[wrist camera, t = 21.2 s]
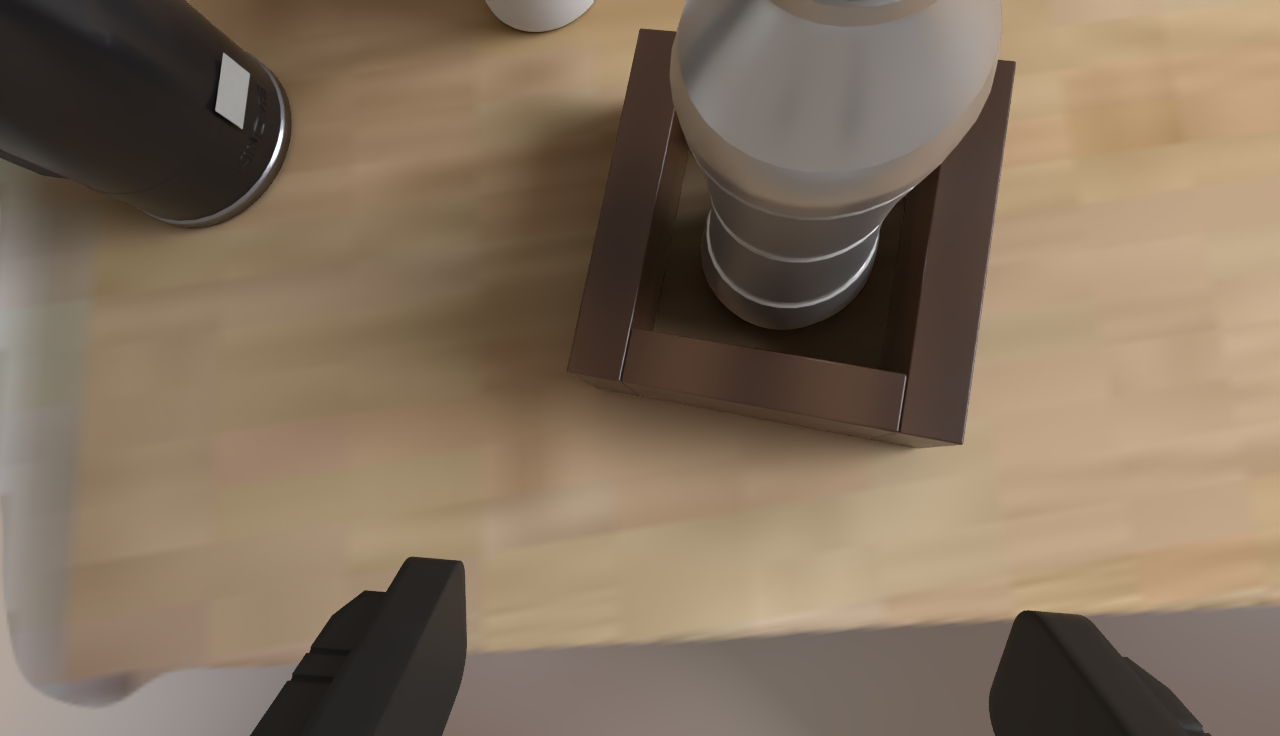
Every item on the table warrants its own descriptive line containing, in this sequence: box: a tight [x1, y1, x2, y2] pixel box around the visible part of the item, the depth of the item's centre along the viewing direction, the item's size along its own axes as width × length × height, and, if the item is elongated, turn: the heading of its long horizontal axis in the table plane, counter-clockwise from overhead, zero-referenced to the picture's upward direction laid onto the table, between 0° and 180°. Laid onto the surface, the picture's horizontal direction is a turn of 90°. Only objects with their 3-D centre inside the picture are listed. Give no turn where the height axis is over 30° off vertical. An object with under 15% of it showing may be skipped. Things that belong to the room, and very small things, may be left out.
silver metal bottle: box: [670, 0, 1002, 330], centre depth 18 cm, size 6×7×20 cm
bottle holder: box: [567, 29, 1016, 448], centre depth 25 cm, size 14×14×5 cm
